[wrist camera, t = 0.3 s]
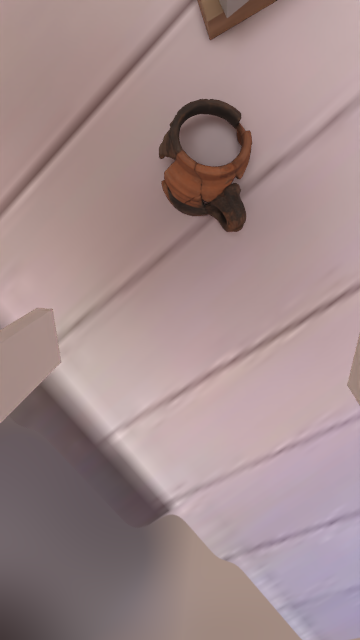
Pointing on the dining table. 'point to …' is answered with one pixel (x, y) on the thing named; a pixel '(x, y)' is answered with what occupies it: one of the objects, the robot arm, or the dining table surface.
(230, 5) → the top slab
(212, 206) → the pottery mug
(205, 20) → the base slab
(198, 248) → the dining table surface
